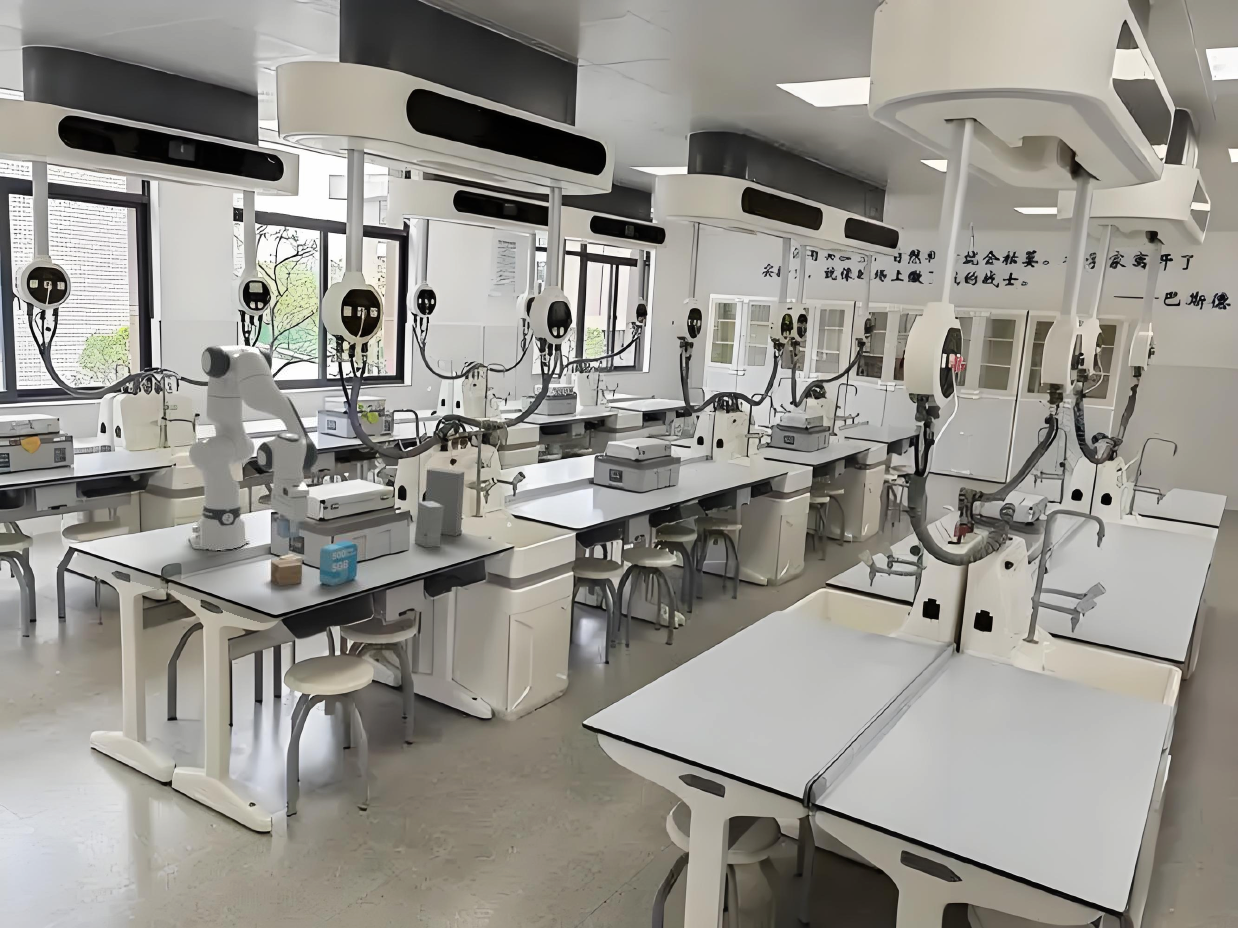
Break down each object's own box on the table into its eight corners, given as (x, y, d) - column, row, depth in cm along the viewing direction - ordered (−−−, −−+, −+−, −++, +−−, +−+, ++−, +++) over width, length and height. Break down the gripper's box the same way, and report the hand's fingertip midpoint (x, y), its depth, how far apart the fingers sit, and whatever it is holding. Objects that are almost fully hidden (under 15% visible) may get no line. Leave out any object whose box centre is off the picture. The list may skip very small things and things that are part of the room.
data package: (329, 587, 286) (330, 550, 284) (318, 584, 288) (320, 547, 286) (356, 578, 297) (358, 542, 295) (346, 575, 299) (347, 540, 297)
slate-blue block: (276, 534, 286) (277, 519, 285) (292, 532, 289) (292, 517, 288) (283, 538, 282) (283, 522, 281) (299, 536, 285) (299, 520, 285)
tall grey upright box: (462, 533, 364) (465, 471, 360) (456, 536, 358) (459, 473, 354) (429, 528, 367) (433, 467, 363) (423, 531, 361) (426, 469, 357)
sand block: (278, 571, 297) (279, 557, 296) (290, 568, 301) (291, 554, 301) (289, 575, 295) (290, 560, 294) (301, 571, 299) (302, 557, 298)
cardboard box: (270, 579, 288) (271, 561, 287) (292, 576, 293) (293, 558, 292) (279, 585, 283) (279, 567, 282) (301, 582, 288) (302, 564, 287)
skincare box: (414, 542, 345) (415, 501, 342) (430, 540, 349) (432, 500, 347) (425, 548, 339) (427, 506, 336) (442, 546, 343) (444, 504, 341)
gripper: (265, 480, 289) (265, 523, 291) (291, 493, 274) (291, 538, 276) (285, 479, 293) (284, 521, 295) (312, 491, 278) (311, 535, 280)
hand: (288, 529), depth 285 cm, fingers closed on slate-blue block, 5 cm apart
